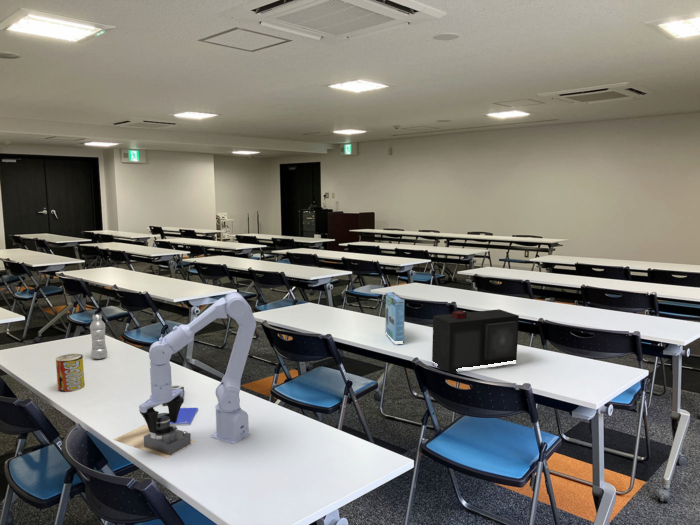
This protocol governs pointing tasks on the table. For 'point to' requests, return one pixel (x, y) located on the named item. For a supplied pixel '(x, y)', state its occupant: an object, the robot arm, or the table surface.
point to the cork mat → (141, 440)
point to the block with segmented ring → (167, 441)
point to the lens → (163, 423)
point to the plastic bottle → (98, 337)
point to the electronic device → (175, 389)
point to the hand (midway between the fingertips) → (163, 426)
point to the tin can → (70, 372)
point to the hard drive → (185, 416)
